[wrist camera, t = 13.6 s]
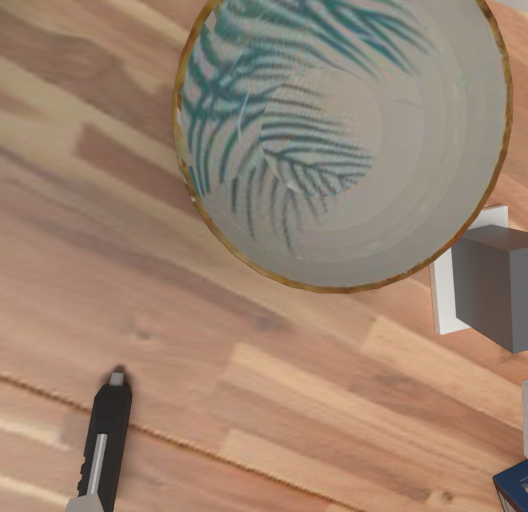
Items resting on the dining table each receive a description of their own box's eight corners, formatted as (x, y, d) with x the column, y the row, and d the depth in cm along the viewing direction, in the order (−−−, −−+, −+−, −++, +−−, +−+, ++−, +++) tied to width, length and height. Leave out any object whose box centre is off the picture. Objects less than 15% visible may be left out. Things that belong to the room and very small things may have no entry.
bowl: (254, 310, 39) (265, 346, 31) (126, 53, 33) (100, 19, 25) (482, 201, 40) (548, 210, 32) (401, -74, 33) (459, -146, 25)
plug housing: (449, 233, 39) (509, 251, 31) (491, 224, 39) (560, 239, 31) (456, 317, 41) (513, 353, 33) (495, 308, 41) (561, 341, 34)
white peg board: (425, 221, 39) (455, 229, 34) (500, 204, 40) (540, 210, 35) (435, 330, 42) (464, 352, 37) (504, 313, 43) (542, 333, 38)
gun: (141, 371, 45) (130, 375, 35) (114, 534, 41) (93, 588, 31) (115, 369, 45) (96, 372, 35) (85, 534, 40) (55, 589, 31)
